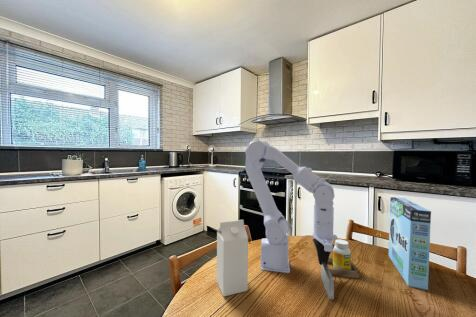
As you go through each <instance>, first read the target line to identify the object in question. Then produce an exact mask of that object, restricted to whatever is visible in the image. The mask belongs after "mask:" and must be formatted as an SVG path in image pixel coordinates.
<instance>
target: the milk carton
mask: <svg viewBox="0 0 476 317" xmlns="http://www.w3.org/2000/svg"><path fill="white" fill-rule="evenodd" d="M244 221H245V220H244V219H239V220H230V221H220V222H219V228H218V230H217V231H216V283H217V285H218V287H219V289H220V292H221V295H222V296H223V297H227V296H232V295H236V294H240V293H244V292H248V285H249V284H248V282H249V280H248V278H249V277H248V274H249V273H248V272H249V265H248V264H249V236H248V232H247V230H246V227H245V222H244Z"/></svg>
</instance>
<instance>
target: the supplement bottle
mask: <svg viewBox="0 0 476 317" xmlns="http://www.w3.org/2000/svg"><path fill="white" fill-rule="evenodd" d="M334 240H335V241H334V249H333V252H332V258H333V264H332V268H335V269H344V270H351V261H352V252H351V249H350V248H349V245H350V244H349V242H348V241H347V240H344V239H339V238H337V239H334Z"/></svg>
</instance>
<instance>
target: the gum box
mask: <svg viewBox="0 0 476 317" xmlns="http://www.w3.org/2000/svg"><path fill="white" fill-rule="evenodd" d="M389 198H390V199H389V200H390V205H389V227H388V228H389V230H388V231H389V232H388V234H389V235H388V257H389V259H390V260H391V262H392V263H393V265H394V266H395V268H396V269H397V271H398V272H399V275H400V276H401V277H402V279H403V280H404V282H405V283H406V285H407V286H408V287H411V288H416V289H420V290H424V291H429V272H430V249H431V248H430V247H431V246H430V245H431V244H430V243H431V218H432V210H429V209H427V208H425V207H423V206H421V205H419V204H417V203H415V202H413V201H411V200H409V199H407V198H406V197H389Z"/></svg>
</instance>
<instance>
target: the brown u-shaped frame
mask: <svg viewBox="0 0 476 317" xmlns="http://www.w3.org/2000/svg"><path fill="white" fill-rule="evenodd" d="M327 264H331V265H333V256H332V257H331V256H329V259H328V263H327ZM328 269H329V271H330V273H331V275H332V276H335V277H343V278H353V279H358V280H359V279H360V278H361V273H360V271H359V269H358V268H357V266H356V265H355V263H354V262H353V261H352V260H351V270H344V269H335V268H333V267H328Z"/></svg>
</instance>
